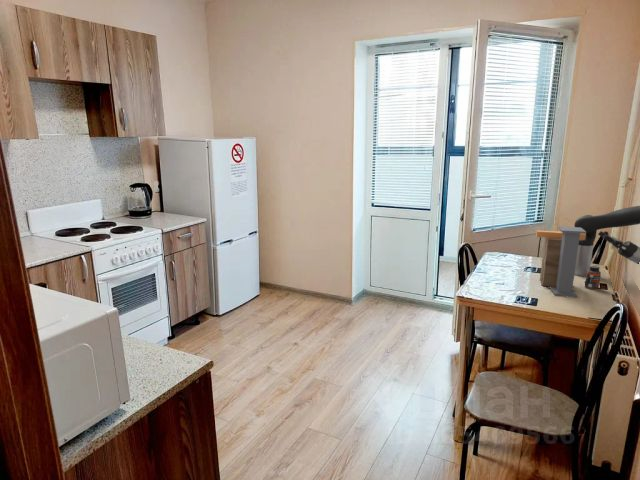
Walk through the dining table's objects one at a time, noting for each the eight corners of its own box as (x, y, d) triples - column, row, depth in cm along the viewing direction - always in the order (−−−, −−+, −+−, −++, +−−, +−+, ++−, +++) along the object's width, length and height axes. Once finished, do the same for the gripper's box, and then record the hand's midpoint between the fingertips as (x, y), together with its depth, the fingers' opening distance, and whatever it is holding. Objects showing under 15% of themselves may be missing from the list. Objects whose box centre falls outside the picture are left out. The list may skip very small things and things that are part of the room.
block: (535, 235, 223) (536, 230, 223) (583, 238, 216) (584, 233, 216) (536, 237, 221) (537, 231, 220) (585, 240, 214) (585, 234, 213)
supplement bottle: (591, 290, 215) (595, 268, 212) (581, 286, 220) (584, 265, 218) (601, 289, 216) (604, 267, 214) (591, 285, 222) (594, 264, 219)
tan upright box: (539, 280, 231) (545, 235, 225) (564, 282, 227) (570, 236, 221) (542, 286, 221) (548, 239, 216) (568, 288, 218) (575, 240, 212)
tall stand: (550, 288, 218) (557, 226, 210) (572, 290, 215) (581, 227, 207) (554, 295, 209) (562, 230, 201) (577, 297, 205) (586, 231, 198)
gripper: (632, 242, 215) (602, 225, 217) (643, 249, 202) (611, 231, 204) (622, 254, 217) (592, 237, 220) (631, 262, 204) (600, 243, 207)
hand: (601, 234), depth 212 cm, fingers open, 8 cm apart
